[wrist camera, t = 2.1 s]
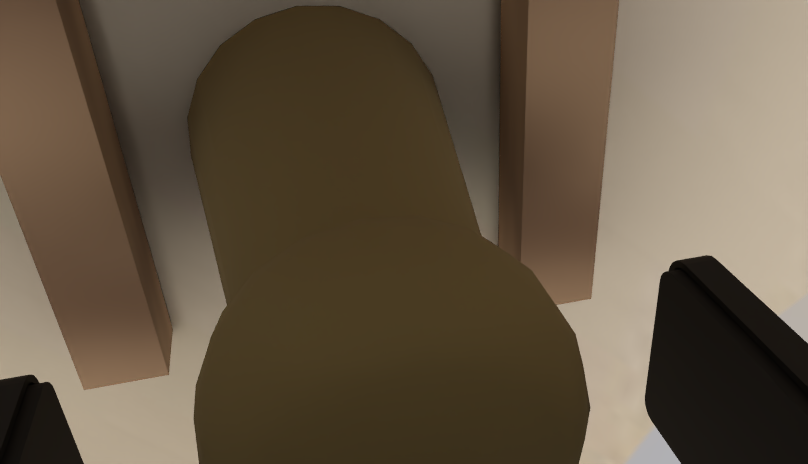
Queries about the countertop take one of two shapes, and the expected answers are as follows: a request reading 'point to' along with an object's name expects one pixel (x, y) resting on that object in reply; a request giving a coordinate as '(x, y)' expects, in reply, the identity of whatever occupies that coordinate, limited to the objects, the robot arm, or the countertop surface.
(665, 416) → the robot arm
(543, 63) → the walnut track
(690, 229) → the countertop surface
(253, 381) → the cork
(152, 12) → the countertop surface
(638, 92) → the countertop surface
